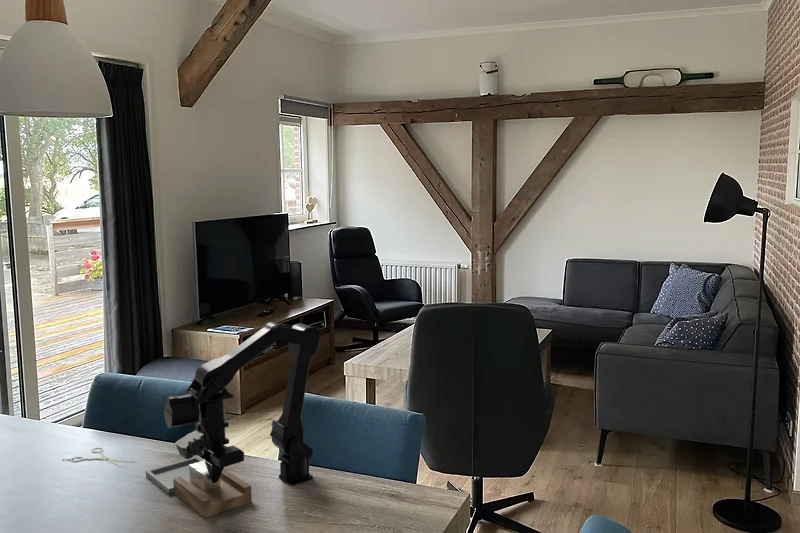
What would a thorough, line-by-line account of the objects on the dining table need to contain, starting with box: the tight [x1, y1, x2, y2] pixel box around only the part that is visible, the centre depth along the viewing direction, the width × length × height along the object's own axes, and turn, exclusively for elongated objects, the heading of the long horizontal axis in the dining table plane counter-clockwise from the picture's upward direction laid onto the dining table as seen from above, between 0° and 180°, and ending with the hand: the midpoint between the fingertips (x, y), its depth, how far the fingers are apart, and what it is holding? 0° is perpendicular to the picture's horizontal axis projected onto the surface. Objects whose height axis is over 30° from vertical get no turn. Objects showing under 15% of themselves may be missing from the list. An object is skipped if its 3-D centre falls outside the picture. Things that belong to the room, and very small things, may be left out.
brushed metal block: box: [196, 467, 220, 491], centre depth 168 cm, size 4×4×4 cm
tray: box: [145, 456, 204, 496], centre depth 178 cm, size 14×14×2 cm
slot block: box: [173, 468, 253, 519], centre depth 167 cm, size 12×16×4 cm
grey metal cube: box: [189, 460, 206, 485], centre depth 171 cm, size 4×4×4 cm
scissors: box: [61, 447, 134, 469], centre depth 190 cm, size 11×1×20 cm
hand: (214, 482), depth 165 cm, fingers closed
